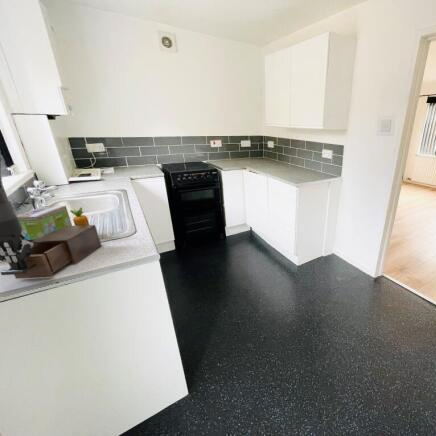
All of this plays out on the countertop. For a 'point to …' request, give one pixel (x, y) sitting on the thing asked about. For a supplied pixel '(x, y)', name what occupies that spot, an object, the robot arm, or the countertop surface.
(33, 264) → the drawer
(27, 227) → the tea box
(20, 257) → the robot arm
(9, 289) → the countertop surface
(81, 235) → the cabinet
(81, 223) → the carrot
